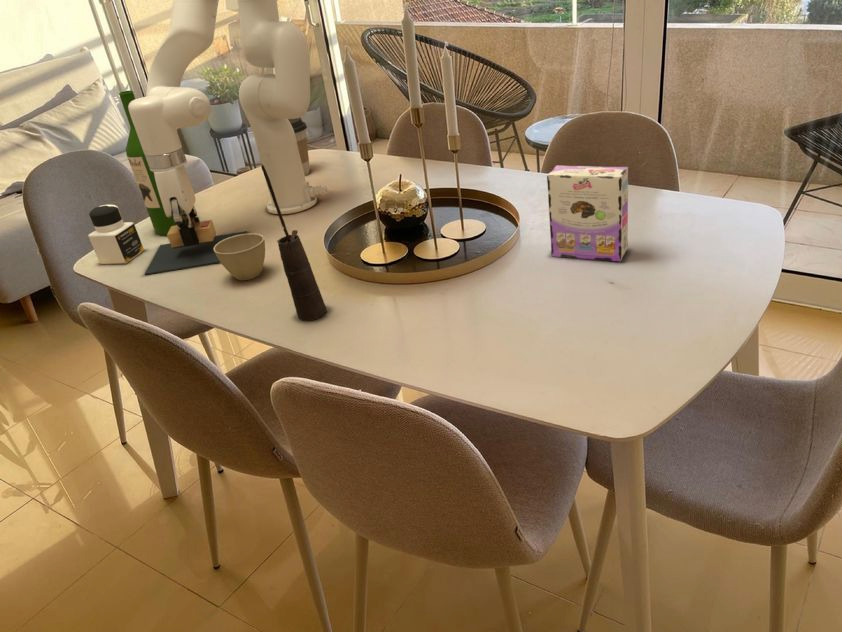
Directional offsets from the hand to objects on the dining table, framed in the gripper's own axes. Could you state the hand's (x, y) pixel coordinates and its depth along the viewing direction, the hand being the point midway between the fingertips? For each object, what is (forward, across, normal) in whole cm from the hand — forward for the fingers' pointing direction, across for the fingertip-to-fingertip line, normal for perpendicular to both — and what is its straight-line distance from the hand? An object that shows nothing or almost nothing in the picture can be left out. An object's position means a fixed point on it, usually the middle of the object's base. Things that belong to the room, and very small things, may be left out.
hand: (194, 238), depth 154 cm
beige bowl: (+4, +17, +13) cm, 22 cm away
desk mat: (+3, 0, 0) cm, 3 cm away
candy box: (+4, +34, +80) cm, 87 cm away
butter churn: (+4, +38, +27) cm, 47 cm away
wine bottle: (+4, -19, -9) cm, 21 cm away
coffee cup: (+4, -49, +20) cm, 53 cm away
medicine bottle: (+4, -5, -18) cm, 19 cm away
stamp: (+1, 0, 0) cm, 1 cm away
